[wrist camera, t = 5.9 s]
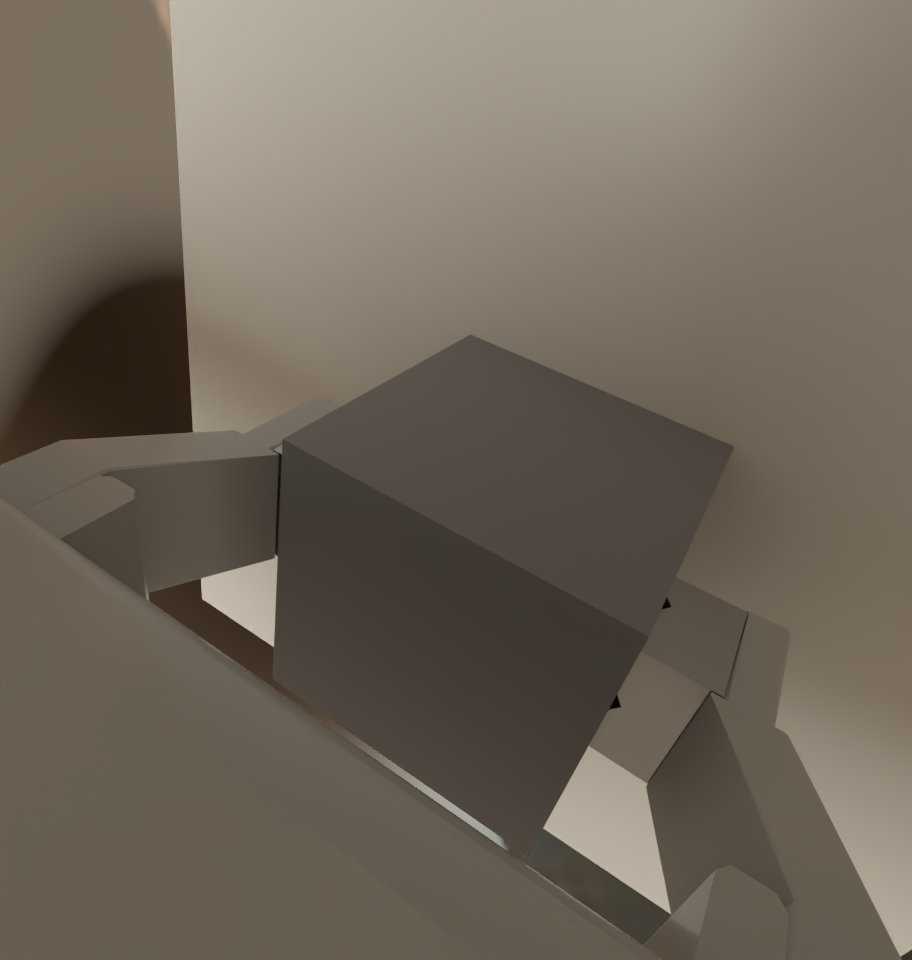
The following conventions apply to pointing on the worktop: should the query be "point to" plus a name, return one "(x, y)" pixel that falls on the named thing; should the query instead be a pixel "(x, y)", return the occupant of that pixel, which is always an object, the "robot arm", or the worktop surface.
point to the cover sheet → (566, 376)
